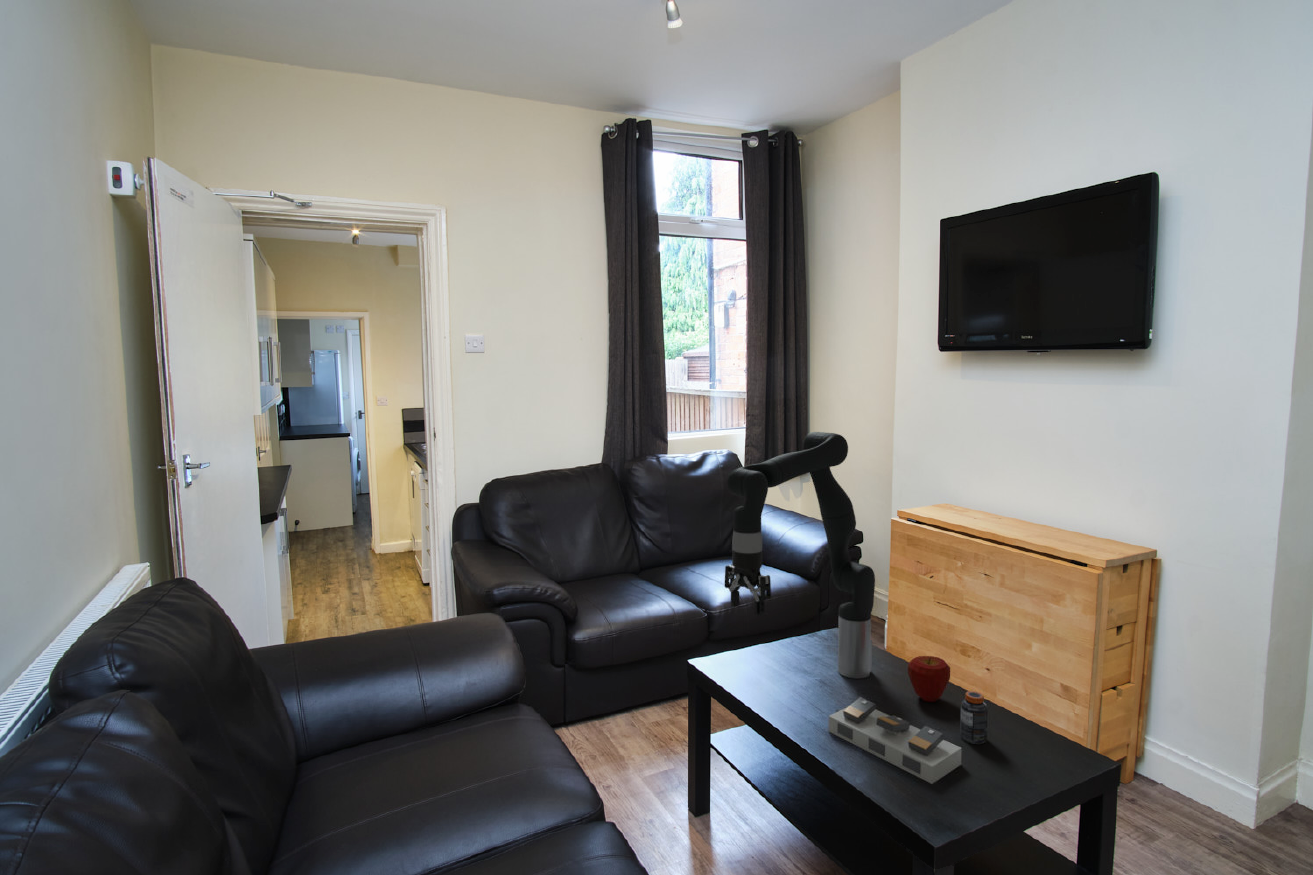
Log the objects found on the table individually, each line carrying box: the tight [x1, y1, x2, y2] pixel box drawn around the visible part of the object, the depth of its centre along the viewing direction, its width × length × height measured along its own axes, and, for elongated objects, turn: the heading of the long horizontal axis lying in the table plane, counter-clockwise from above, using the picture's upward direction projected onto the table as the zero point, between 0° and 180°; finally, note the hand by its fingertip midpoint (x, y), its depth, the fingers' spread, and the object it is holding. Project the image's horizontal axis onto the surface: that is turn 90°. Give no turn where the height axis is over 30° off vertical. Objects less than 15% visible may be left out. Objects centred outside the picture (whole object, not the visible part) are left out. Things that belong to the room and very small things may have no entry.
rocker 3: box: [908, 725, 944, 756], centre depth 156 cm, size 7×4×2 cm, turn 127°
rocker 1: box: [843, 696, 877, 724], centre depth 170 cm, size 7×4×2 cm, turn 127°
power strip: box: [828, 707, 962, 785], centre depth 164 cm, size 12×30×4 cm, turn 37°
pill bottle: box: [959, 690, 989, 745], centre depth 166 cm, size 6×6×11 cm
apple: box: [907, 655, 951, 703], centre depth 187 cm, size 11×11×12 cm
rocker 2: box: [876, 715, 911, 732], centre depth 163 cm, size 7×4×2 cm, turn 127°
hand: (747, 610), depth 174 cm, fingers open, 8 cm apart
